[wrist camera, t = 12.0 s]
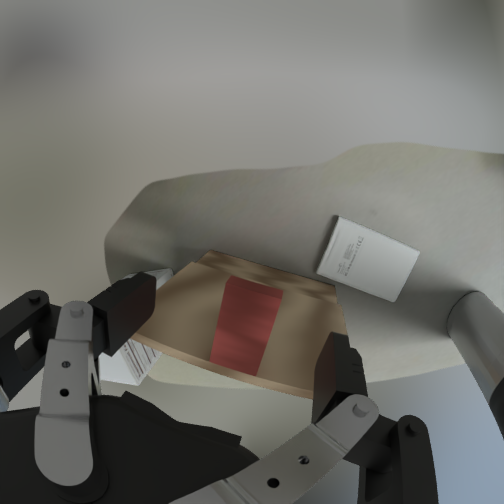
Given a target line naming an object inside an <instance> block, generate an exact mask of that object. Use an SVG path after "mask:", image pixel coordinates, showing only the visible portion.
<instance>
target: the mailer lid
mask: <svg viewBox="0 0 504 504" xmlns="http://www.w3.org/2000/svg"><path fill="white" fill-rule="evenodd" d="M331 331H333V332H337V333H341V334H345V335H347V330H346V325H345V320H344V315H343V311H342V306H341V305H339V304H335V303H331V302H328V301H324V300H321V299H317V298H313V297H310V296H306V295H303V294H299V293H295V292H292V291H288V290H285V289H281V288H278V287H275V286H271V285H268V284H264V283H261V282H257V281H254V280H251V279H247V278H244V277H241V276H237V275H234V274H231V273H227V272H224V271H221V270H217V269H214V268H211V267H208V266H204V265H201V264H198V263H195V262H190V263H189V264H188V265H187V266H185V267H184V268H183V269H182V270H180V271H179V272H178V273H177V274H176V275H174V276H173V277H172V278H171V279H169V280H168V281H167V282H166V283H164V284H163V285H162V286H161V287H160V288H158V289H157V290H156V299H155V309H154V312H153V314H152V316H151V317H150V318H149V319H148V320H147V321H146V322H145V323H144V324H143V325H142V326H141V328H140V329H139V330H138V331H137V332H136V333H135V334H134V335H133V336H132V337H131V338H130V339H132V340H135V341H137V342H139V343H141V344H143V345H146V346H148V347H150V348H153V349H155V350H157V351H160V352H162V353H164V354H167V355H169V356H172V357H174V358H177V359H179V360H182V361H184V362H187V363H190V364H192V365H195V366H198V367H201V368H203V369H206V370H209V371H212V372H215V373H218V374H221V375H224V376H227V377H230V378H233V379H236V380H239V381H243V382H246V383H249V384H253V385H256V386H260V387H263V388H267V389H271V390H275V391H278V392H282V393H286V394H291V395H295V396H299V397H304V398H308V399H313V391H314V371H315V365H316V362H317V359H318V357H319V355H320V353H321V351H322V348H323V346H324V344H325V342H326V340H327V338H328V336H329V334H330V332H331Z"/></svg>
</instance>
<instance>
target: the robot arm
mask: <svg viewBox="0 0 504 504" xmlns="http://www.w3.org/2000/svg"><path fill="white" fill-rule="evenodd" d="M156 284H157V280H156V277H155V276H152V275H150V274H147V273H144V272H139V273H137V274H136V275H134V276H133V277H131V278H126V279H122V280H119V281H117V282H116V283H114V284H113V285H112V286H110V287H108V288H107V289H106V290H105V291H103V292H101V293H100V294H98V295H97V296H95V297H94V298H93V299H91V300H90V301H88V302H87V303H86V302H84V301H71V302H68V303H66V304H65V305H64V306H63V307H60V306H56V305H52V304H50V302H49V296H48V294H47V293H46V292H44V291H41V290H32V291H29V292H26V293H25V294H23V295H22V296H20V297H19V298H17V299H16V300H14V301H13V302H11V303H10V304H8V305H7V306H5V307H4V308H2V309H1V310H0V504H292V503H293V502H295V501H296V500H297V499H298V498H300V497H301V496H302V495H303V494H305V493H306V492H307V491H308V490H309V489H310V488H311V487H313V486H314V485H315V484H316V483H317V482H318V481H319V480H321V479H322V478H323V477H324V476H325V475H326V474H327V473H328V472H329V471H330V470H331V469H332V468H333V467H334V466H335V465H336V464H337V463H338V462H339V461H340V460H341V459H344V460H347V461H349V462H351V463H354V464H357V465H359V466H360V471H359V488H358V501H357V504H439V503H438V492H437V483H436V475H435V468H434V461H433V455H432V450H431V444H430V439H429V434H428V429H427V427H426V425H425V423H424V422H423V421H422V420H421V419H419V418H418V417H416V416H413V415H405V416H403V417H401V418H400V419H399V421H398V422H396V421H393V420H391V419H389V418H386V417H384V416H382V415H380V414H379V409H378V407H377V405H376V404H375V402H374V401H372V400H371V399H370V398H368V394H367V387H366V381H365V375H364V369H363V363H362V358H361V356H360V354H359V353H358V351H357V350H356V349H354V348H350V345H349V338H348V335H345V334H341V333H337V332H333V331H331V332H330V334H329V336H328V338H327V340H326V342H325V344H324V346H323V348H322V351H321V353H320V355H319V357H318V359H317V362H316V365H315V371H314V391H313V407H312V422H311V424H310V425H309V426H307V427H306V428H305V429H304V430H302V431H301V432H299V433H298V434H297V435H295V436H294V437H292V438H291V439H290V440H288V441H287V442H285V443H284V444H283V445H281V446H280V447H279V448H277V449H275V450H274V451H272V452H271V453H269V454H268V455H266V456H265V457H263V458H261V459H259V458H258V457H257V456H256V455H255V454H253V453H252V452H251V451H249V450H248V449H246V448H245V447H243V446H241V445H239V444H240V441H241V438H242V437H241V436H238V435H235V434H231V433H228V432H225V431H222V430H218V429H216V428H213V427H207V426H200V425H194V424H188V423H182V422H178V421H176V420H174V419H173V418H171V417H170V416H169V415H167V414H166V413H164V412H163V411H161V410H160V409H159V408H157V407H156V406H155V405H153V404H152V403H150V402H148V401H146V400H144V399H142V398H140V397H138V396H136V395H134V394H132V393H130V392H128V391H125V392H124V394H123V395H122V396H121V397H118V396H112V395H102V393H101V381H100V360H99V355H100V354H101V353H102V352H103V353H104V354H106V355H108V356H110V357H112V356H113V355H114V354H115V353H116V352H117V351H118V350H119V349H120V348H121V347H122V346H123V345H124V344H125V343H126V342H127V341H128V340H129V339H130V338H131V337H132V336H133V335H134V334H135V333H136V332H137V331H138V330H139V329H140V328H141V326H142V325H143V324H144V323H145V322H146V321H147V320H148V319H149V318H150V317H151V316H152V314H153V312H154V309H155V299H156ZM27 330H28V331H29V335H30V339H28V340H27V341H26V342H25V343H24V344H22V345H21V346H20V347H19V348H18V349H17V350H15V348H14V345H15V341H16V340H17V338H18V337H20V336H21V335H22V334H23V333H24V332H26V331H27ZM447 332H448V334H449V336H450V337H451V339H452V340H453V342H454V344H455V345H456V347H457V349H458V350H459V352H460V354H461V355H462V357H463V359H464V360H465V362H466V364H467V366H468V367H469V369H470V371H471V372H472V374H473V376H474V378H475V380H476V382H477V383H478V385H479V387H480V389H481V391H482V393H483V395H484V397H485V399H486V401H487V403H488V405H489V407H490V409H491V411H492V413H493V415H494V417H495V420H496V422H497V424H498V426H499V429H500V431H501V434H502V436H503V439H504V313H503V312H502V311H501V310H500V309H499V308H498V307H497V306H496V305H495V304H494V303H493V302H492V301H491V300H490V299H489V298H488V297H487V296H486V295H485V294H483V293H481V292H472V293H470V294H467V295H466V296H464V297H463V298H462V299H460V300H459V301H458V302H457V304H456V305H455V306H454V308H453V309H452V311H451V313H450V315H449V317H448V321H447ZM43 367H44V374H43V381H42V390H41V401H40V407H33V408H27V409H20V410H13V411H7V409H8V407H9V402H10V401H11V400H12V399H13V398H14V397H15V396H16V395H17V394H18V392H19V391H20V390H21V389H22V388H23V387H24V386H25V385H26V384H27V383H28V382H29V381H30V380H31V379H32V378H33V377H34V376H35V375H36V374H37V373H38V372H39V371H40V370H41V369H42V368H43Z"/></svg>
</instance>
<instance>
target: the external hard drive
mask: <svg viewBox="0 0 504 504" xmlns="http://www.w3.org/2000/svg"><path fill="white" fill-rule="evenodd" d="M419 253H420V252H419V251H418V250H417V249H415V248H413V247H411V246H409V245H406V244H404V243H402V242H400V241H397V240H395V239H393V238H391V237H388V236H386V235H384V234H382V233H379V232H377V231H375V230H372V229H370V228H368V227H365V226H363V225H360V224H358V223H355V222H353V221H350V220H348V219H346V218H343V217H341V216H339V217H338V220H337V222H336V225H335V227H334V230H333V232H332V235H331V237H330V240H329V243H328V245H327V248H326V250H325V252H324V254H323V256H322V259H321V261H320V263H319V266H318V268H317V270H316V274H319V275H322V276H324V277H327V278H329V279H332V280H335V281H337V282H340V283H343V284H345V285H348V286H351V287H353V288H356V289H359V290H361V291H364V292H367V293H369V294H372V295H375V296H377V297H380V298H383V299H385V300H388V301H391V302H395V301H396V299H397V297H398V295H399V294H400V292H401V290H402V288H403V286H404V284H405V282H406V280H407V278H408V276H409V275H410V273H411V271H412V268H413V267H414V264H415V262H416V260H417V258H418V256H419Z"/></svg>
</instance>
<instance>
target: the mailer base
mask: <svg viewBox="0 0 504 504" xmlns="http://www.w3.org/2000/svg"><path fill="white" fill-rule="evenodd" d="M196 263H198V264H201V265H204V266H208V267H211V268H214V269H217V270H221V271H224V272H227V273H231V274H234V275H237V276H241V277H244V278H247V279H251V280H254V281H257V282H261V283H264V284H268V285H271V286H275V287H278V288H281V289H285V290H288V291H292V292H295V293H299V294H303V295H306V296H310V297H313V298H317V299H321V300H324V301H328V302H331V303H335V304H338V303H337V296H336V290H335V286H334V285H331V284H327V283H324V282H320V281H316V280H313V279H309V278H306V277H302V276H299V275H295V274H292V273H288V272H285V271H281V270H278V269H274V268H271V267H268V266H264V265H261V264H257V263H254V262H250V261H247V260H243V259H240V258H237V257H233V256H230V255H226V254H223V253H219V252H216V251H213V250H209V251H208V252H207V253H206V254H205V255H204V256H203V257H202V258H201V259H200V260H199V261H197V262H196Z"/></svg>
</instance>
